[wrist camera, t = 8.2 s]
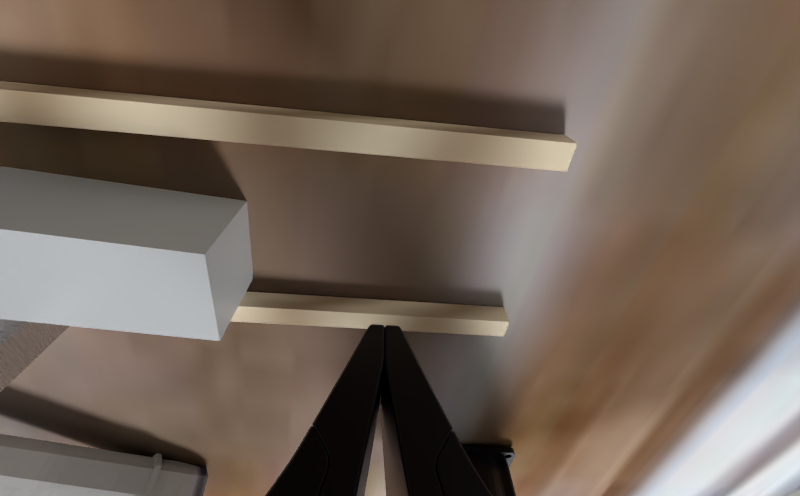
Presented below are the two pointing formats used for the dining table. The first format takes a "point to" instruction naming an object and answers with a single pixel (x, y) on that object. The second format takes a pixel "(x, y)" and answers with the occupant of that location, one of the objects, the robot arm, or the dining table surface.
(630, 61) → the dining table surface
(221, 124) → the guide rails
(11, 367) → the slotted u bracket
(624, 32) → the dining table surface
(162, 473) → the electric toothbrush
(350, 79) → the dining table surface
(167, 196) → the gray rectangular bar
